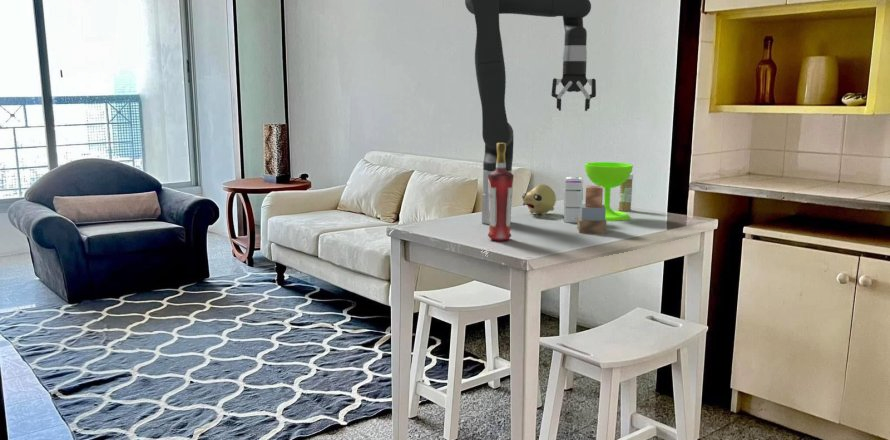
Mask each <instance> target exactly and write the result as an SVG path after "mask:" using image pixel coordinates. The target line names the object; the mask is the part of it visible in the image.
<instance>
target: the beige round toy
mask: <svg viewBox="0 0 890 440" xmlns="http://www.w3.org/2000/svg"><path fill="white" fill-rule="evenodd" d="M521 198H522V201H523V203H524V204H525V205H526V206H527V208H528V209H529V213H530V214H534V213H535V214H539V215H541V216H543V217H544V216H546V214H547V213H548V212H550V211H554V210H555V207H554V206H555V205H556V202H557V196H556V193H555V191H554V190H553V188H552V187H551V186H550V185H548V184H545V183H540V184H538V185H536V186H535V187H533V188H532V189H531V190H530V191H527V192H525V193H523V194H522V197H521Z"/></svg>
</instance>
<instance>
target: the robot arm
mask: <svg viewBox="0 0 890 440" xmlns="http://www.w3.org/2000/svg"><path fill="white" fill-rule="evenodd" d="M464 4H465V7H466V9H467V11H468V12H469V13H471V14H472V15H474V20H475V26H476V27H475V29H476V37H475V48H474V67H475V75H476V82H477V89H478V93H479V98H480V104H481V112H482V113H481V116H482V117H481V120H482V123H481V126H482V128H481V129H482V132H481V133H482V140H483V142H484V158H483V163H482V164H483V165H482V167H483V168H482V171H483V172H482V173H483V174H482V196H481V197H482V200H481V223H482V224H485V225H486V224H487V225H489V195H488V175H489V174H490V173H491V172H493V171H495V170H496V161H497V143H506V151H505V162H506V171H508V172H510V173H512V174H513V172H512V171H513V169H512V168H513V160H514V137H515V136H514V129H513V127H512V125H511V124H510V123H509V122H508V117H507V111H506V104H505V102H506V101H505V99H506V88H507V87H506V83H507V81H506V77H507V76H506V74H507V73H506V65H505V57H504V50H503V43H502V36H501V30H500V28H501V27H500V14H506V15H507V14H508V15H509V14H513V15H524V16H534V17H545V18H546V17H547V18H554V17H555V18H556V17H562V21H563V29H564V47H563V53H562V55H563V56H562V77H561V78H555V77H554V78H553V79H552V82H551V85H552V86H551V97H552V98H555V99H556V109H557V110H558V111H562V97H563V96H564V95H565V93H566V92H569V93H572V92H574V93H575V92H576V93H579V92H580V93H582V95H583V96H584V98H585V99H584V112H587V111H588V110H589V109H590V108H591V105H590V104H591V103H590V102H591V99H593V98H596V97H597V87H596V86H597V81H596V78H589V79H588V78H587V61H588V60H587V59H588V57H587V55H588V52H587V36H588V33H587V29H586V28H585V27H584V18H585V17H587V16H588V15H589V14H590V12H591V9H592V3H591V1H590V0H464ZM560 83H561V85H562V86H563V88H562V89H561V90H560V92H559V93H558V94H557V92H556V91H557V86H558V85H559V84H560ZM587 83H588V84H589V86H591V94H589V93H588V91H587V90H586V88H585V86H586V85H587ZM511 220H512V219H511ZM511 220H510V223H511Z"/></svg>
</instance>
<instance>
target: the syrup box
mask: <svg viewBox="0 0 890 440" xmlns="http://www.w3.org/2000/svg"><path fill="white" fill-rule="evenodd" d="M583 179H584V178H583V177H582V176H567V177H566V176H565V179H564V203H563V204H564V205H563V206H564V207H563V208H564V210H563V213H564V215H563V221H564V223H569V224H570V223H575V224H578V216H581V204H583V198H584V197H583V196H584V194H583V190H584V189H583V187H584V185H583V183H584V181H583Z"/></svg>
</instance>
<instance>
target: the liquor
mask: <svg viewBox="0 0 890 440" xmlns="http://www.w3.org/2000/svg"><path fill="white" fill-rule="evenodd" d="M505 151H506V143H497V161H496V170H495V171H493V172H491V173H490V174H489V175H488V195H489V224H488V226H489V228H488V229H489V232H488V234H487V236H488V237H489V238H490V239H491V241H493V240H494V241H493V242H506V241H508V240H509V239H510V238H511V237H512V234H511V222H510V220H512V219H511V218H512V216H511V215H512V203H513V188H514V174H513V172H512V173H510V172H508V171H506V162H505Z"/></svg>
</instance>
